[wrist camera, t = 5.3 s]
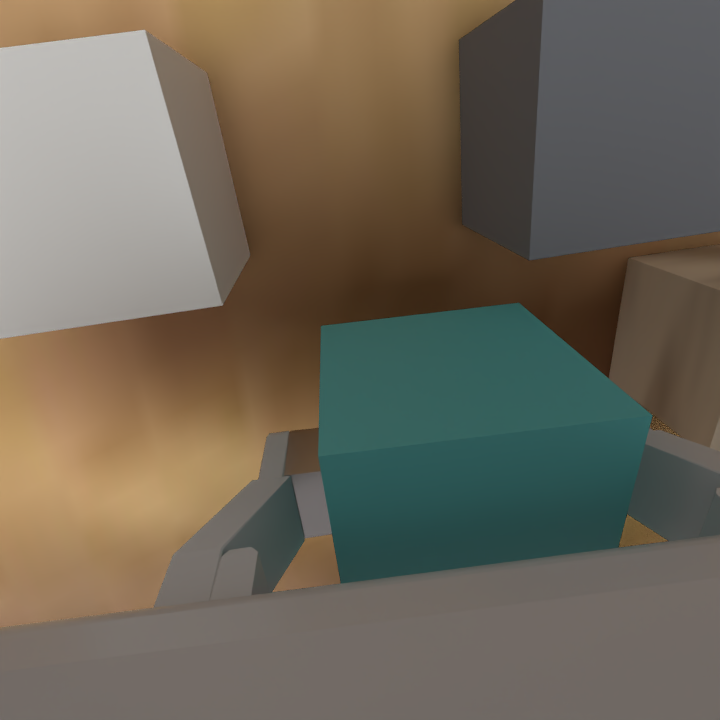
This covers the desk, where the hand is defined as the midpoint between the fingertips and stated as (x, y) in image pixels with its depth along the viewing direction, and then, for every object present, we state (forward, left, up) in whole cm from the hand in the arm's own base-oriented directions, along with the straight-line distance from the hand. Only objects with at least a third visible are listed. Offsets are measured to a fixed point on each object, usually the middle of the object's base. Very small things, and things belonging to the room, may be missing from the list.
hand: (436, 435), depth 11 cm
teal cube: (0, 0, -2) cm, 2 cm away
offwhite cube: (+7, -6, -6) cm, 11 cm away
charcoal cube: (-5, -6, -6) cm, 10 cm away
